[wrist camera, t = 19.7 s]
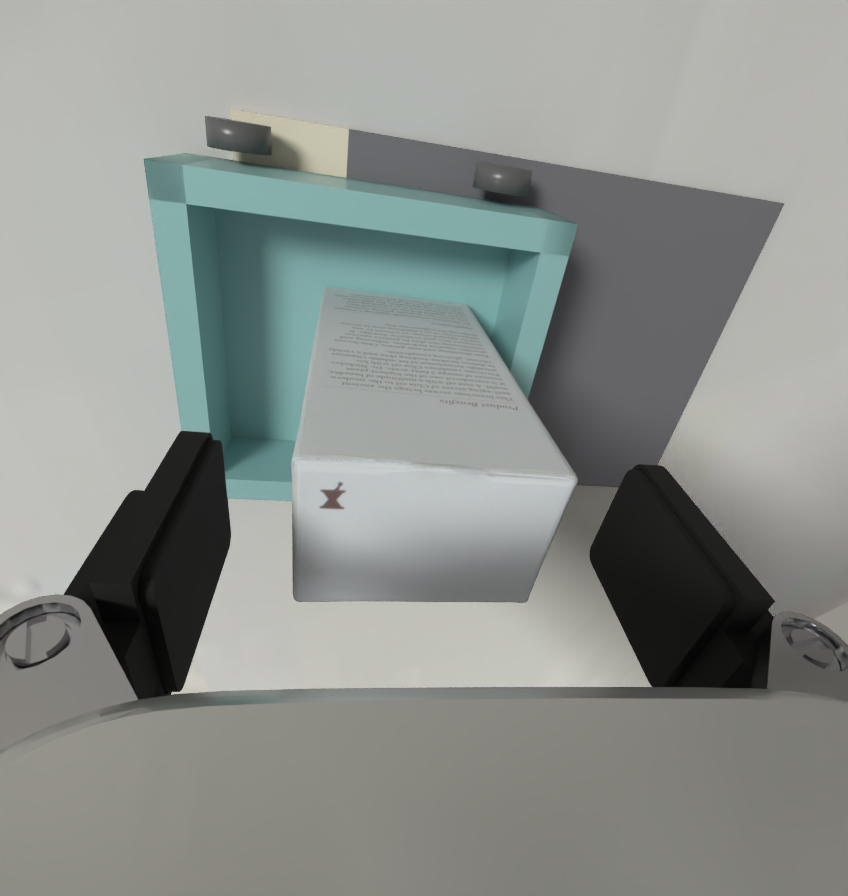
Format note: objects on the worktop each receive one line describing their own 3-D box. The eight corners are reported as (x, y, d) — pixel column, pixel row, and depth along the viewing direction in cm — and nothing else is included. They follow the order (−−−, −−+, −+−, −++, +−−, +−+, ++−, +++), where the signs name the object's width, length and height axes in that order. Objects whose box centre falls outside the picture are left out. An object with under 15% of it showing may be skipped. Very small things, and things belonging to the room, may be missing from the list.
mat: (780, 203, 21) (784, 203, 20) (644, 486, 28) (645, 488, 28) (231, 109, 17) (230, 108, 17) (250, 465, 25) (250, 468, 25)
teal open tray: (548, 172, 18) (590, 182, 15) (473, 478, 26) (490, 529, 23) (181, 111, 16) (136, 106, 13) (217, 464, 24) (193, 519, 21)
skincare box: (318, 382, 21) (283, 606, 11) (323, 283, 19) (283, 453, 9) (453, 395, 22) (530, 609, 12) (473, 302, 20) (587, 474, 10)
